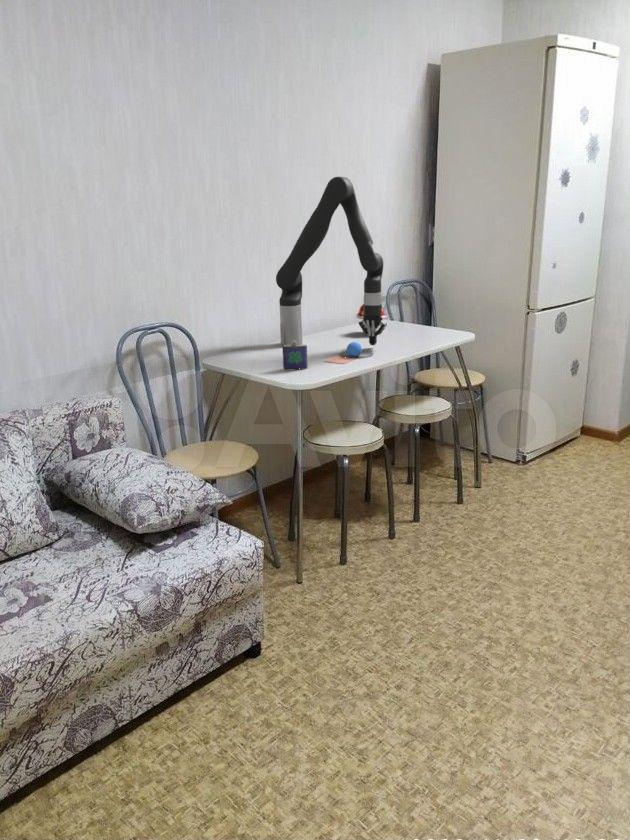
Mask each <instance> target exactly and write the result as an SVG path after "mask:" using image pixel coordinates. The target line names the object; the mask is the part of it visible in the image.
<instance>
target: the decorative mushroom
mask: <svg viewBox="0 0 630 840" xmlns="http://www.w3.org/2000/svg"><path fill="white" fill-rule="evenodd" d="M355 317H356V318H357V319H359V320H363V317H364V303H363V304H362V305H361V306H360V308H359V311H358V313H357V314H356V316H355ZM381 317H382V320H383V319H385V318H387V314H386V313H385V311H384V307H383V306H382V315H381ZM366 326H367V325H366ZM379 328H380V326H379V327H378V329H379ZM362 333H363V334H364V335H365V333H364V331H363V330H362ZM366 336H368V335H367V334H366Z"/></svg>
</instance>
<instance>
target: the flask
mask: <svg viewBox="0 0 630 840" xmlns="http://www.w3.org/2000/svg"><path fill="white" fill-rule="evenodd" d="M296 342H297V341H293V344H289V345H288V344H287V345H284V346H282V364H283V365H282V368H283V370H284V369H295V370H303V369H302V368H307V367H308V366H309V364H308V361H309V360H308V345H307V344H301V345H297V344H296ZM299 368H300V369H299ZM308 368H309V367H308ZM308 368H307V369H308Z"/></svg>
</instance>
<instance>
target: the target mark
mask: <svg viewBox="0 0 630 840" xmlns="http://www.w3.org/2000/svg"><path fill="white" fill-rule="evenodd" d="M373 354H374V352H373V351H369V350H365V349H362V352H361V354H360V355H359V356H357V357H351V356H349V355H348V353H347V350H345V351H342V352H340V353H338V357H346V358H353V359H365V357H366V358H370V357H372V355H373ZM373 356H374V355H373Z"/></svg>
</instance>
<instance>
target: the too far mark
mask: <svg viewBox="0 0 630 840" xmlns="http://www.w3.org/2000/svg"><path fill="white" fill-rule="evenodd" d="M355 359H356V358H345V357H341V356H334V357H331V358H329V359H326V360H324V361H325V363H331V362H332V363H331V364H340V365H345V364H347V362H348V363H350V362H353V361H355ZM352 360H353V361H352ZM349 361H350V362H349Z"/></svg>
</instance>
